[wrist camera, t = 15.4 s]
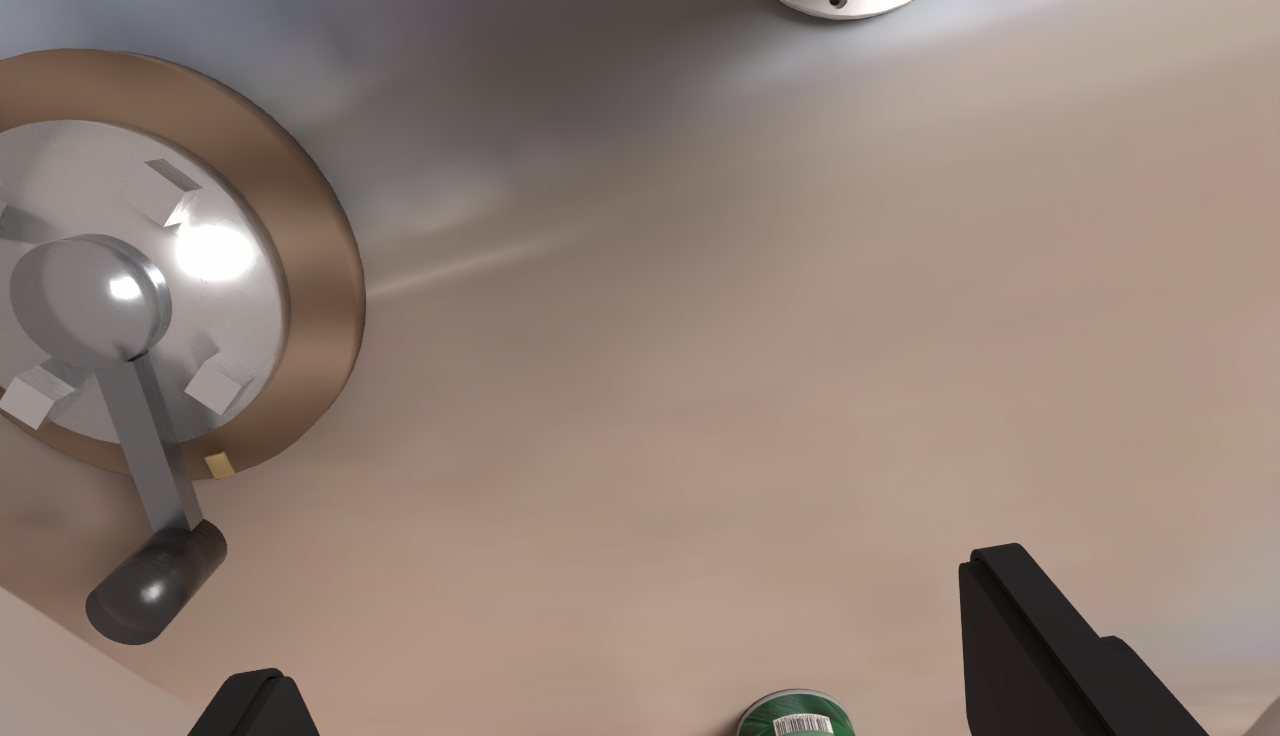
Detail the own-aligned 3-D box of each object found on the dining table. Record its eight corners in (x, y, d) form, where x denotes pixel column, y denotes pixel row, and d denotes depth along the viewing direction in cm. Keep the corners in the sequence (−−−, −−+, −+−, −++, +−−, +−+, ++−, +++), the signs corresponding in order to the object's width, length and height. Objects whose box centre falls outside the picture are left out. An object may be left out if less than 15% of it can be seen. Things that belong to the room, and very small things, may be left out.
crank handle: (-98, 134, 34) (-281, 145, 27) (242, 104, 34) (144, 108, 27) (80, 565, 43) (-26, 656, 36) (355, 545, 42) (301, 633, 35)
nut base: (-116, 26, 35) (-166, 22, 32) (358, 76, 36) (341, 75, 33) (-17, 446, 42) (-52, 465, 40) (371, 479, 43) (357, 499, 41)
